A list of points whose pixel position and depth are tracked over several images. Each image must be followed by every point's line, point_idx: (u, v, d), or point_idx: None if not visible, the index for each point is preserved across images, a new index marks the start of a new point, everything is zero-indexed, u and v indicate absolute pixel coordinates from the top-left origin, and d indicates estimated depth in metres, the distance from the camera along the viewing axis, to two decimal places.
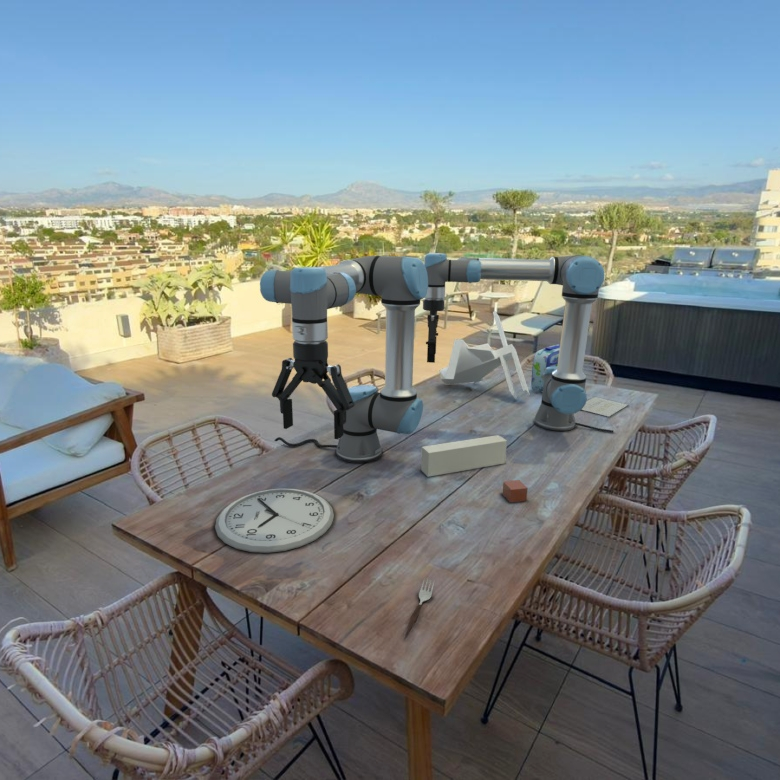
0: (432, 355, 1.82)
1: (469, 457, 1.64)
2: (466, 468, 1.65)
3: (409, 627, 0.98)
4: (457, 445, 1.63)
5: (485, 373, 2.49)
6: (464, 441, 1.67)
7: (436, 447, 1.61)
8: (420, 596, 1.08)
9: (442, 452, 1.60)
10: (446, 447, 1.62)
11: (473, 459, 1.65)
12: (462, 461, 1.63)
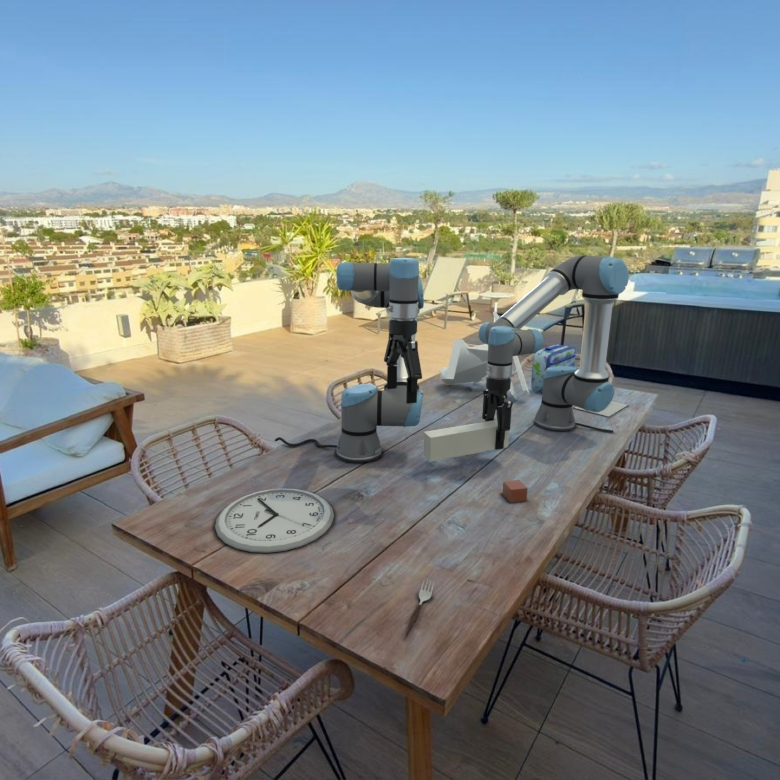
0: (501, 441, 1.66)
1: (472, 441, 1.63)
2: (469, 452, 1.64)
3: (409, 627, 0.98)
4: (459, 430, 1.62)
5: (485, 373, 2.49)
6: (466, 425, 1.65)
7: (438, 432, 1.60)
8: (420, 596, 1.08)
9: (445, 437, 1.58)
10: (448, 431, 1.61)
11: (475, 443, 1.64)
12: (464, 445, 1.62)
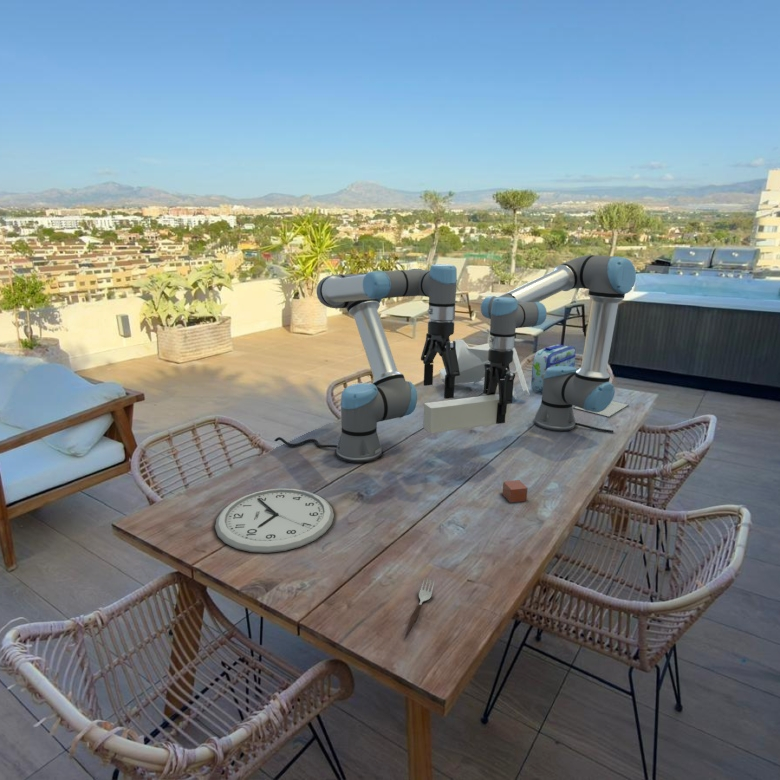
0: (503, 415, 1.63)
1: (473, 414, 1.60)
2: (469, 426, 1.61)
3: (409, 627, 0.98)
4: (460, 402, 1.59)
5: None
6: (467, 398, 1.62)
7: (438, 404, 1.57)
8: (420, 596, 1.08)
9: (445, 408, 1.55)
10: (448, 403, 1.58)
11: (476, 416, 1.61)
12: (465, 418, 1.59)
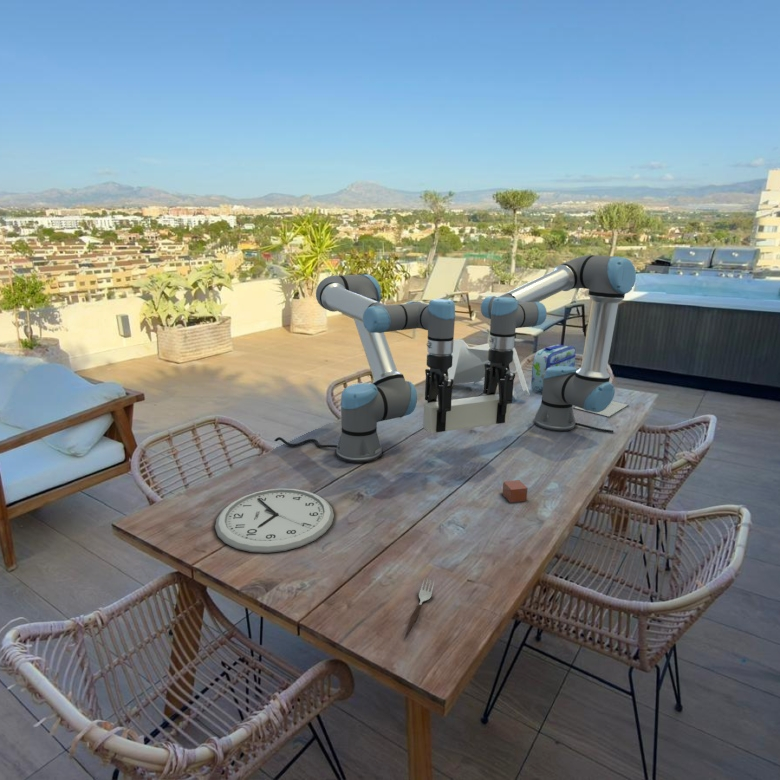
0: (503, 415, 1.63)
1: (473, 414, 1.60)
2: (469, 426, 1.61)
3: (409, 627, 0.98)
4: (460, 402, 1.59)
5: None
6: (467, 398, 1.62)
7: None
8: (420, 596, 1.08)
9: None
10: None
11: (476, 416, 1.61)
12: (465, 418, 1.59)
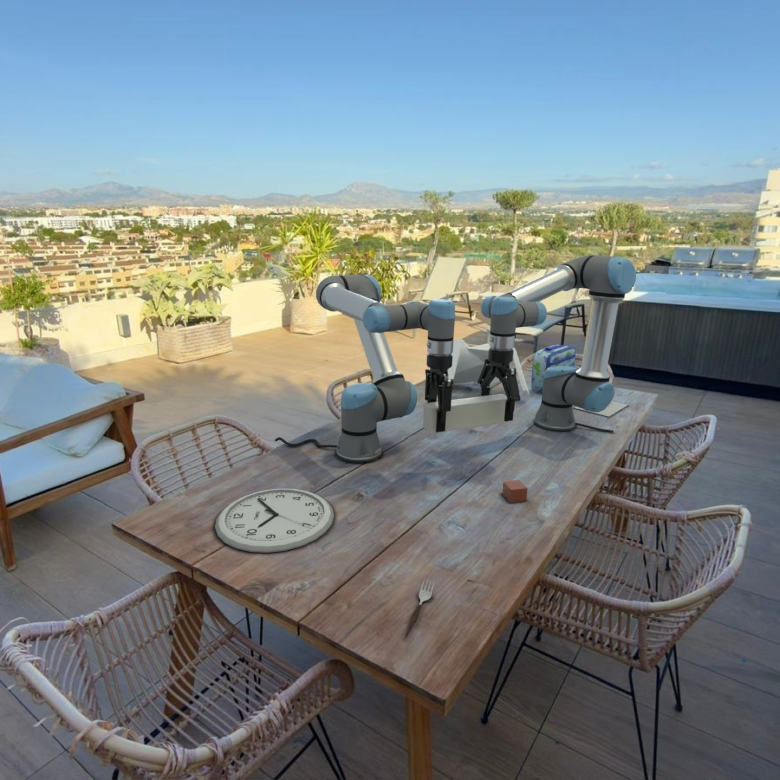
0: (511, 413, 1.59)
1: (472, 414, 1.60)
2: (469, 426, 1.61)
3: (409, 627, 0.98)
4: (460, 402, 1.59)
5: None
6: (467, 398, 1.62)
7: None
8: (420, 596, 1.08)
9: None
10: None
11: (476, 416, 1.61)
12: (465, 418, 1.59)
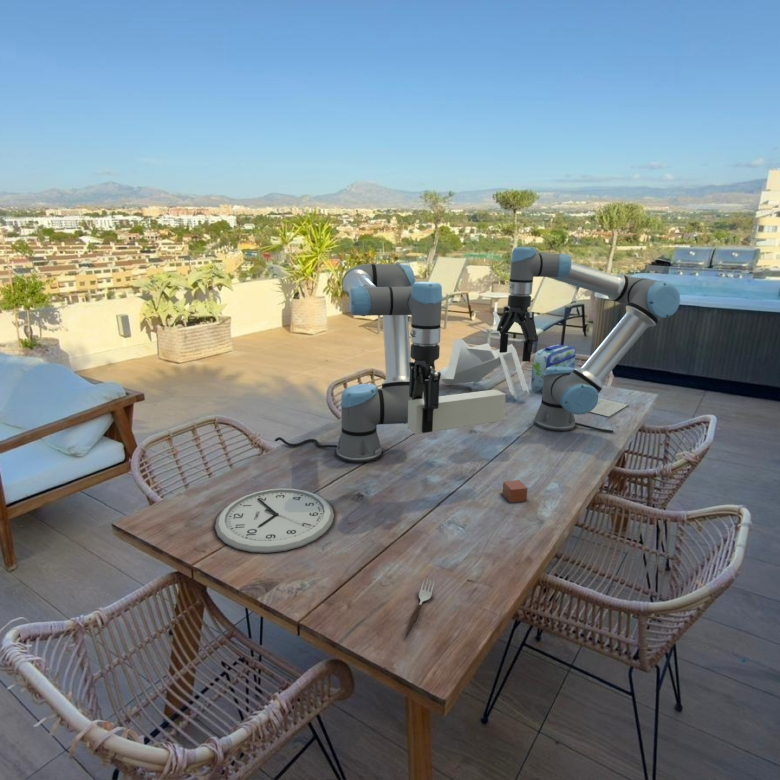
0: (528, 353, 1.74)
1: (463, 412, 1.42)
2: (460, 425, 1.43)
3: (409, 627, 0.98)
4: (449, 399, 1.41)
5: (485, 373, 2.49)
6: (457, 395, 1.45)
7: None
8: (420, 596, 1.08)
9: None
10: None
11: (467, 414, 1.43)
12: (455, 416, 1.41)
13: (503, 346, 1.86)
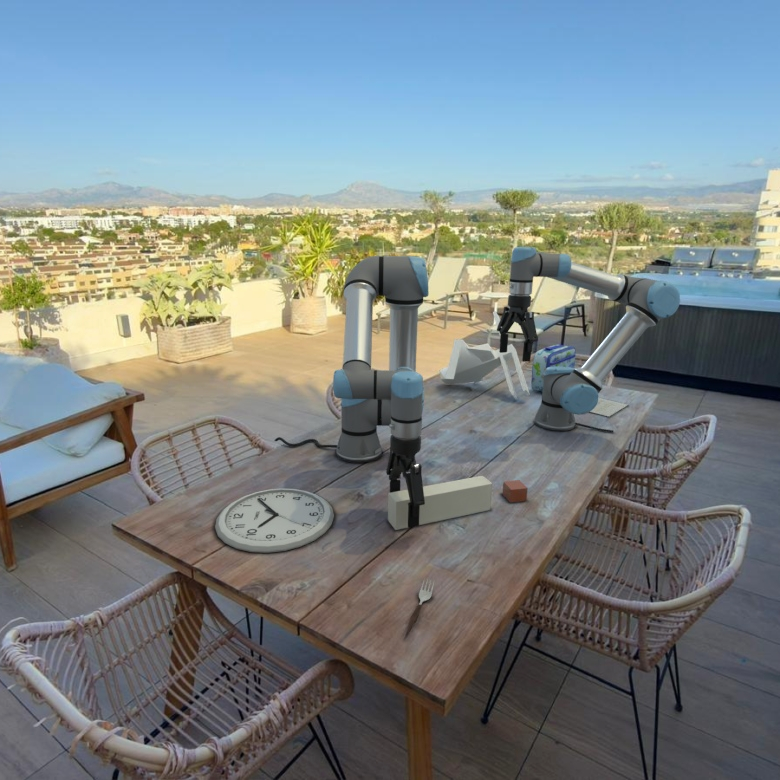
0: (528, 353, 1.74)
1: (446, 504, 1.36)
2: (443, 518, 1.36)
3: (409, 627, 0.98)
4: (431, 491, 1.35)
5: (485, 373, 2.49)
6: (441, 484, 1.38)
7: (405, 494, 1.33)
8: (420, 596, 1.08)
9: None
10: None
11: (451, 506, 1.36)
12: (437, 509, 1.35)
13: (503, 346, 1.86)
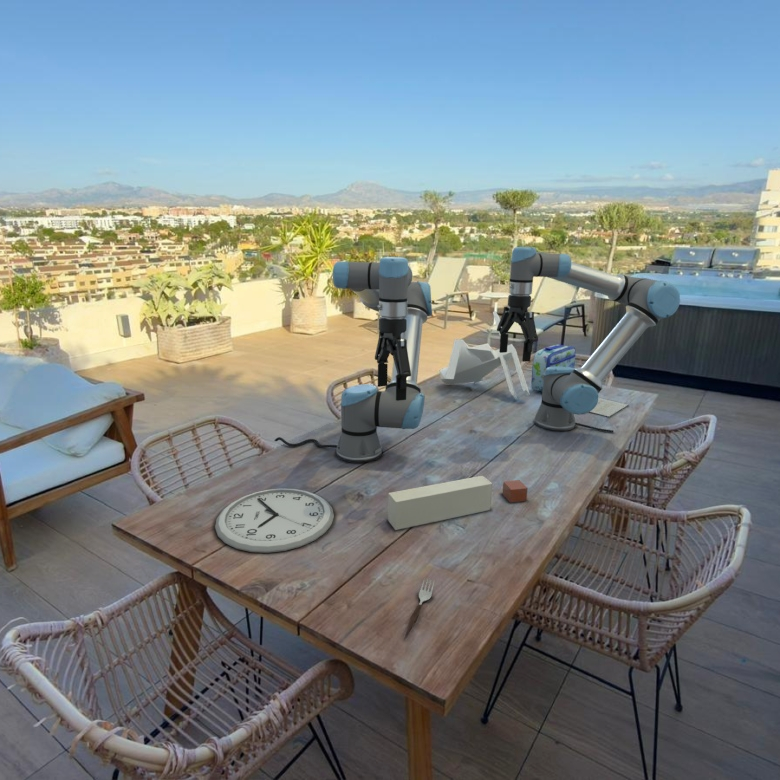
0: (528, 353, 1.74)
1: (446, 504, 1.36)
2: (443, 518, 1.36)
3: (409, 627, 0.98)
4: (431, 491, 1.35)
5: (485, 373, 2.49)
6: (441, 484, 1.38)
7: (405, 494, 1.33)
8: (420, 596, 1.08)
9: (413, 501, 1.31)
10: (417, 493, 1.34)
11: (451, 506, 1.36)
12: (437, 509, 1.35)
13: (503, 346, 1.86)
